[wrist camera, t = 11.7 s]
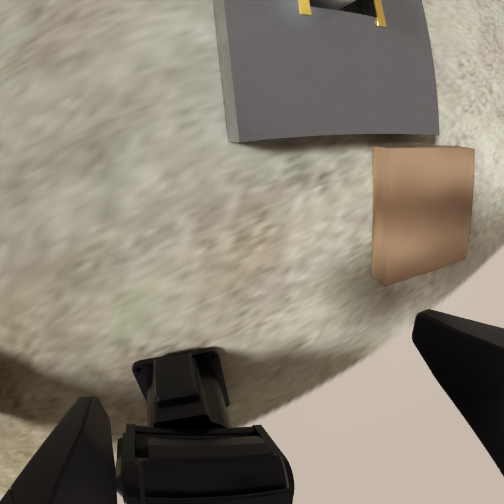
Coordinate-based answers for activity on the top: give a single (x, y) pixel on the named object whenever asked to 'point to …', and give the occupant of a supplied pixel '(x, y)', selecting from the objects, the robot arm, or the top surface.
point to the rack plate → (325, 69)
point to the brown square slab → (420, 209)
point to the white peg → (330, 4)
